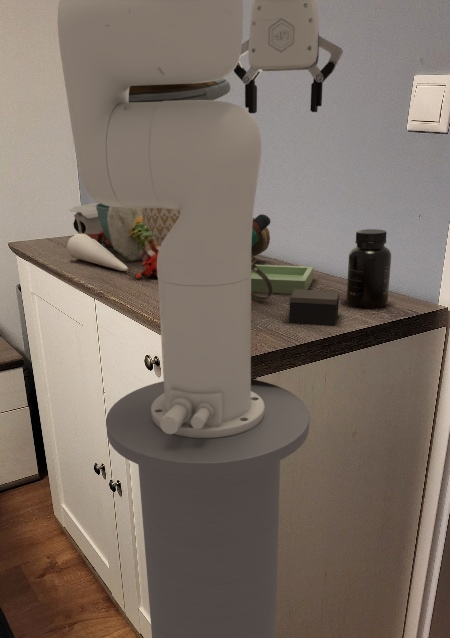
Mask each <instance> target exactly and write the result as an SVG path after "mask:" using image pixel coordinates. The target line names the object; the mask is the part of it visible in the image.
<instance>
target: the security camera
mask: <svg viewBox="0 0 450 638" xmlns="http://www.w3.org/2000/svg"><path fill="white" fill-rule="evenodd" d="M97 204H99V202H93V203H88V204H81V205H75V206H73V207H71V208H69V211H70V212H71V213H75V214H74V215H73V217H74V221H73V223H72V224H73V228H74V230H75V232H77V234H99V232H100V231H101V230H102V228H101V226H100V223H99V219H98V212H97V210H96V205H97Z"/></svg>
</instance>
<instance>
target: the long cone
mask: <svg viewBox="0 0 450 638" xmlns="http://www.w3.org/2000/svg"><path fill="white" fill-rule="evenodd" d="M66 249H67V252H68V254H69V255H70V256H71V257H72V258H74V259H77V260H81V261H85V262H88V263H92V264H95V265H98V266H103V267H105V268H110V269H113V270H116V271H120V272H121V271H122V272H128V270H129V268H128V266H127V265H126V264H125V263H124V262H122V261H121V260H120V259H118V258H117V256H115V255H114V254H113V253H112V252H111V251H110V250H108V249H107V248H106V247H105V246H104V245H101V244H100V243H98V242H97V241H96V240H95V239H92V238H90V237H89V236H88V235H86V234H78V233H76V234H74V235H73V236H71V237H70V238H69V239H68V241H67V244H66Z"/></svg>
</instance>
